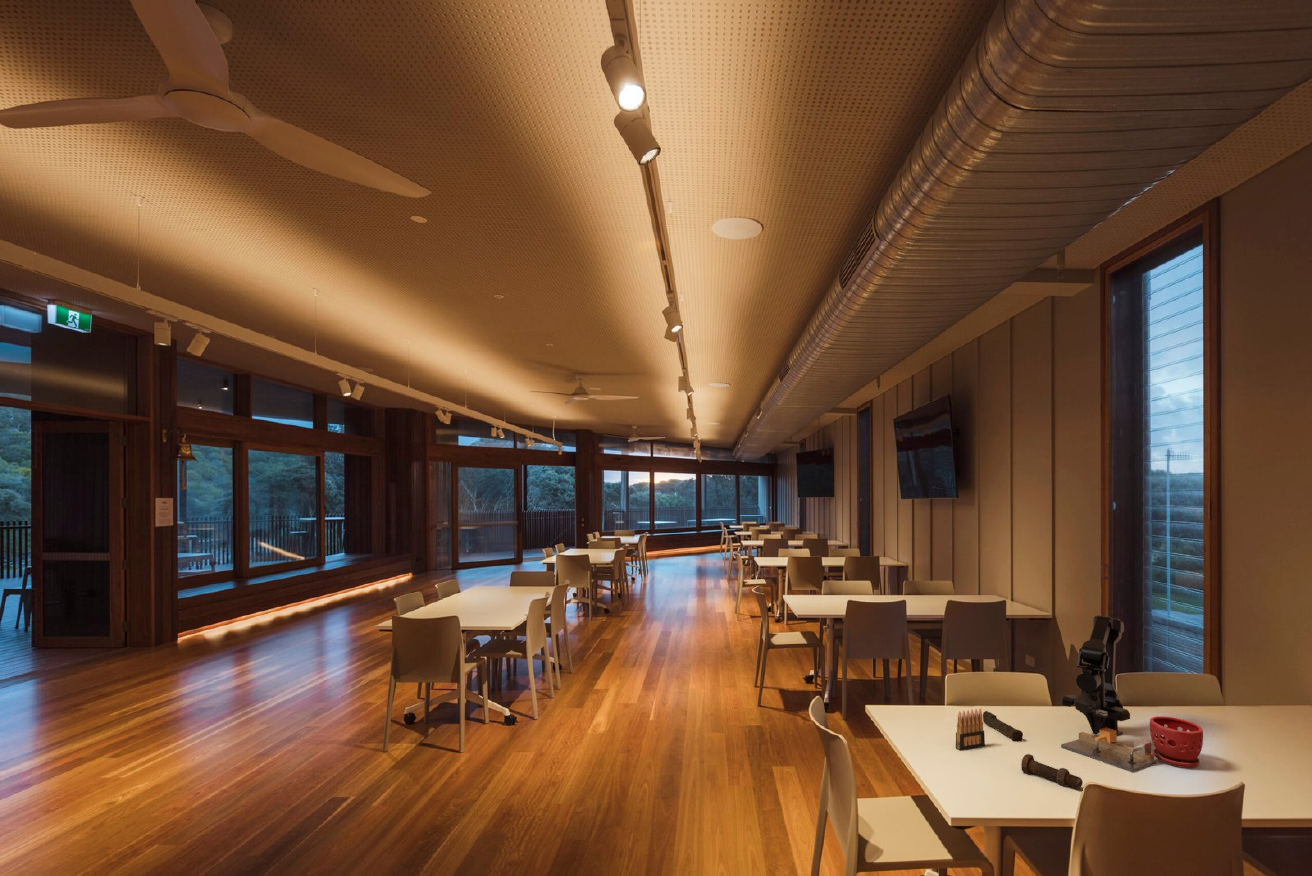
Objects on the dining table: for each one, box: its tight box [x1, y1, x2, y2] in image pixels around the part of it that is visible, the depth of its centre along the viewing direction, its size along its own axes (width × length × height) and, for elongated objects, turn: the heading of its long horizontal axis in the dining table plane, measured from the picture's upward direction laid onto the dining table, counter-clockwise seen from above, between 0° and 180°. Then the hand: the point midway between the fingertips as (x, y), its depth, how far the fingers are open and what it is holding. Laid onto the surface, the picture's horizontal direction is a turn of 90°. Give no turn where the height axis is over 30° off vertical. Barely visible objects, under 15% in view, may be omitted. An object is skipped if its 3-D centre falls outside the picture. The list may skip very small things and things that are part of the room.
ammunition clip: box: [955, 708, 986, 752], centre depth 218 cm, size 11×2×12 cm, turn 112°
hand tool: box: [982, 710, 1024, 743], centre depth 232 cm, size 19×4×5 cm, turn 5°
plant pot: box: [1149, 715, 1204, 769], centre depth 209 cm, size 13×13×12 cm
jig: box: [1060, 731, 1157, 773], centre depth 213 cm, size 14×21×6 cm, turn 29°
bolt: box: [1020, 753, 1084, 790], centre depth 194 cm, size 6×5×15 cm
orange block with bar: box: [1095, 728, 1118, 750], centre depth 216 cm, size 9×3×5 cm, turn 119°
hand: (1095, 734), depth 220 cm, fingers closed
